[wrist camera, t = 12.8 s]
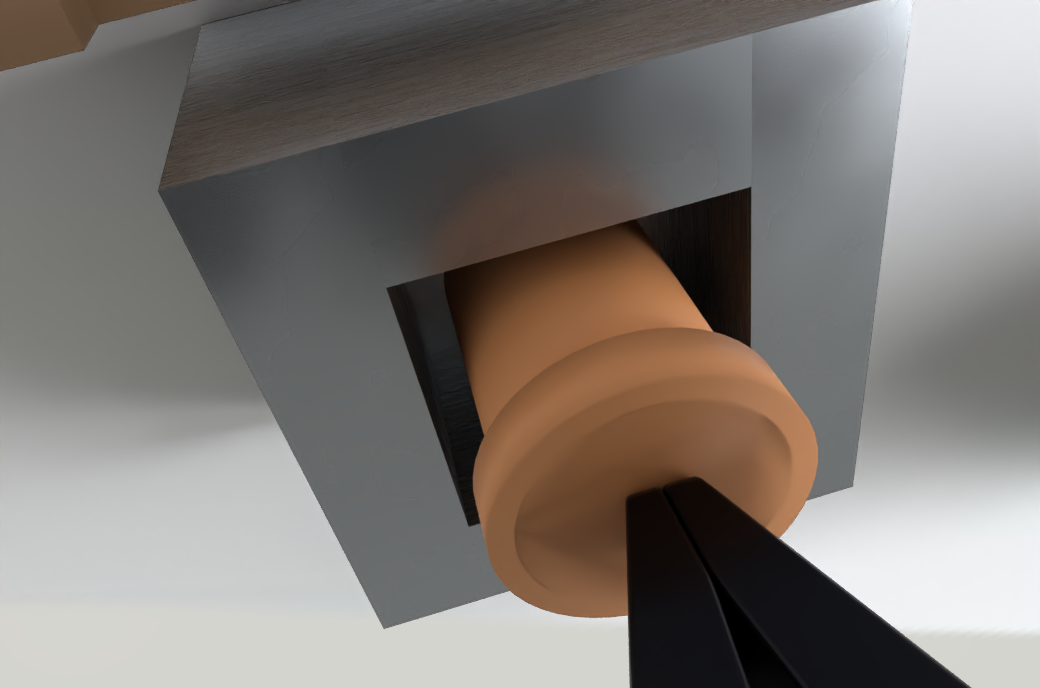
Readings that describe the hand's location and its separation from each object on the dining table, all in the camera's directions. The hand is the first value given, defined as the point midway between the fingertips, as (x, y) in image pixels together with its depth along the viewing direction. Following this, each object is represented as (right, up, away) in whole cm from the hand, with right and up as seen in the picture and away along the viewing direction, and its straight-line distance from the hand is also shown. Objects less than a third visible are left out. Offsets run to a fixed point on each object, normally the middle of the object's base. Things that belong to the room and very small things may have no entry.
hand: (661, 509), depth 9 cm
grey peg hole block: (-2, +5, +6) cm, 8 cm away
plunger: (-1, +3, +4) cm, 5 cm away
